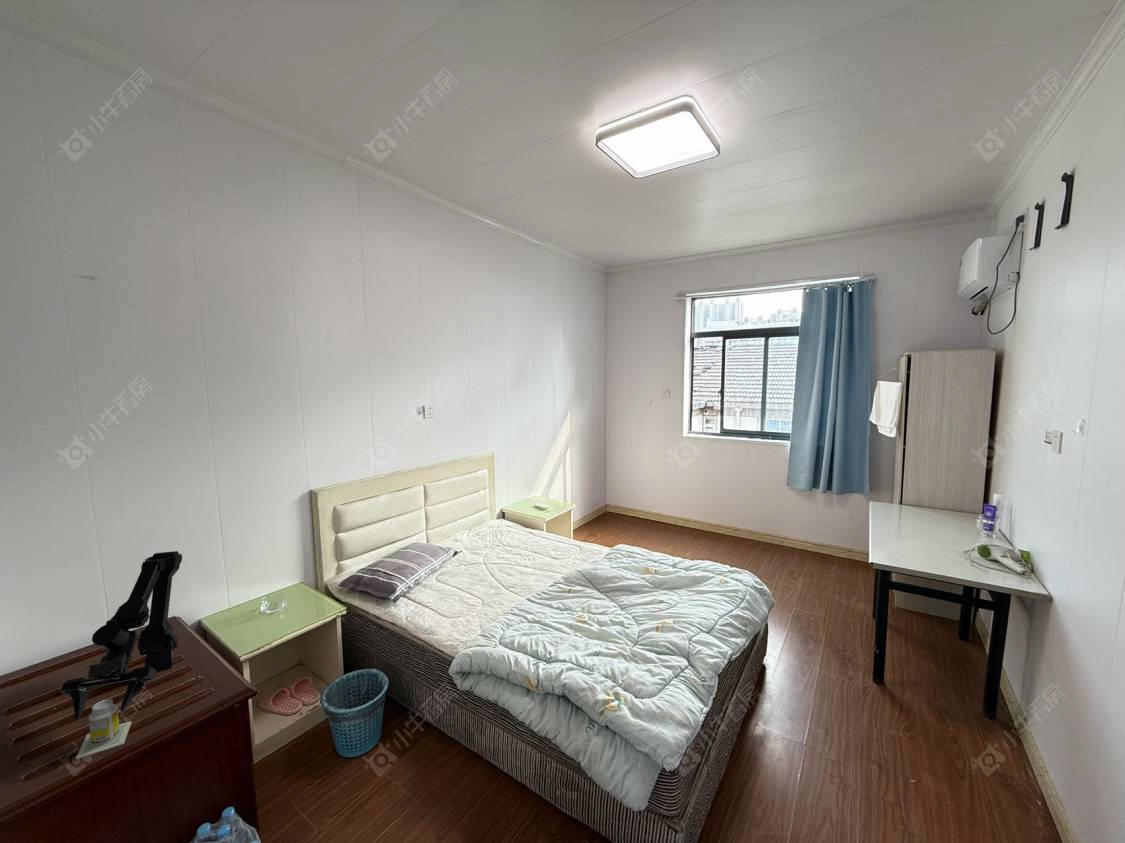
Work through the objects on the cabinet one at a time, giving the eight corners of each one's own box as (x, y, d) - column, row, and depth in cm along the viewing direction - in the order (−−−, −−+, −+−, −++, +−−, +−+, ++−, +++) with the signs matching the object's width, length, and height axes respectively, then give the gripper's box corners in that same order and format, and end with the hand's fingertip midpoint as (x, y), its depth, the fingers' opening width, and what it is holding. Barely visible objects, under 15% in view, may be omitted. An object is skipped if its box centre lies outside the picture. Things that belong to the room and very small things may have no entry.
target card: (131, 722, 127) (131, 720, 127) (123, 744, 120) (123, 742, 120) (87, 735, 122) (87, 734, 122) (75, 759, 115) (75, 758, 115)
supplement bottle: (113, 726, 125) (110, 694, 124) (124, 733, 123) (121, 700, 121) (86, 741, 120) (83, 707, 118) (96, 749, 117) (93, 714, 116)
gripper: (60, 654, 118) (35, 721, 109) (149, 640, 125) (131, 702, 116) (81, 662, 126) (59, 726, 117) (163, 649, 133) (148, 708, 124)
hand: (99, 715), depth 119 cm, fingers open, 9 cm apart
